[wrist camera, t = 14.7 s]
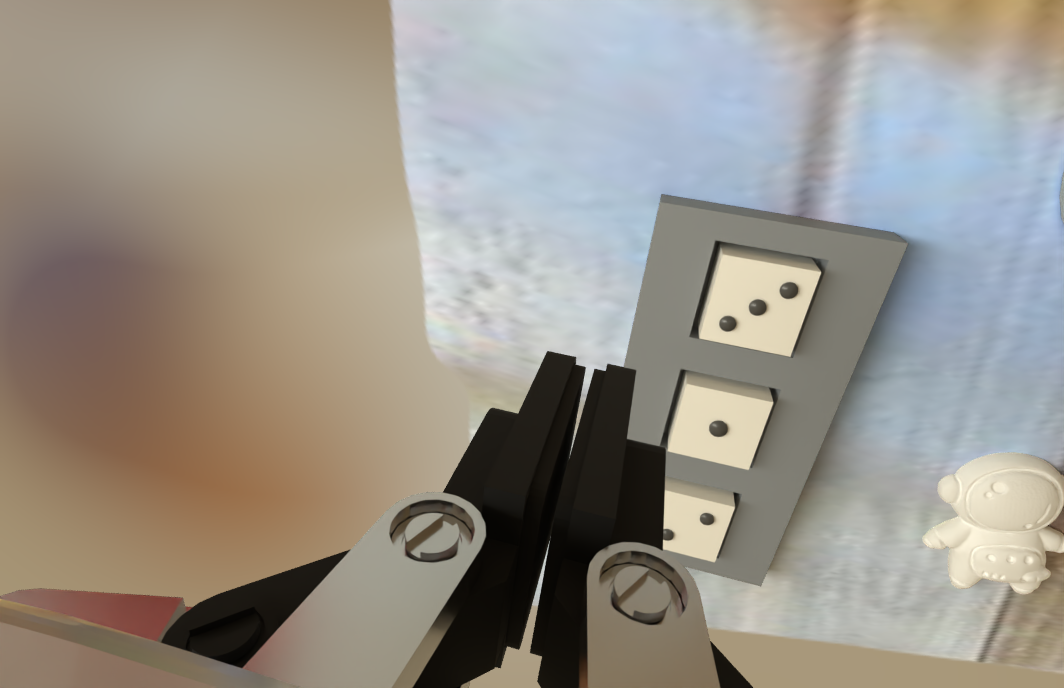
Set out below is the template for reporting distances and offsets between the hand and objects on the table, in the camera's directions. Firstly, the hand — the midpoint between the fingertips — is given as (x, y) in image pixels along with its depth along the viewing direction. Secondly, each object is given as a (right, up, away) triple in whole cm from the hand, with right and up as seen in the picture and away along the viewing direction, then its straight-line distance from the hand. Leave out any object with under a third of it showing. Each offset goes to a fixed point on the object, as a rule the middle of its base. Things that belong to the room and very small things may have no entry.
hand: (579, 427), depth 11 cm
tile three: (+14, +5, +27) cm, 30 cm away
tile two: (+11, -11, +35) cm, 38 cm away
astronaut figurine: (+32, -11, +31) cm, 46 cm away
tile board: (+13, -3, +31) cm, 34 cm away
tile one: (+12, -3, +31) cm, 33 cm away
